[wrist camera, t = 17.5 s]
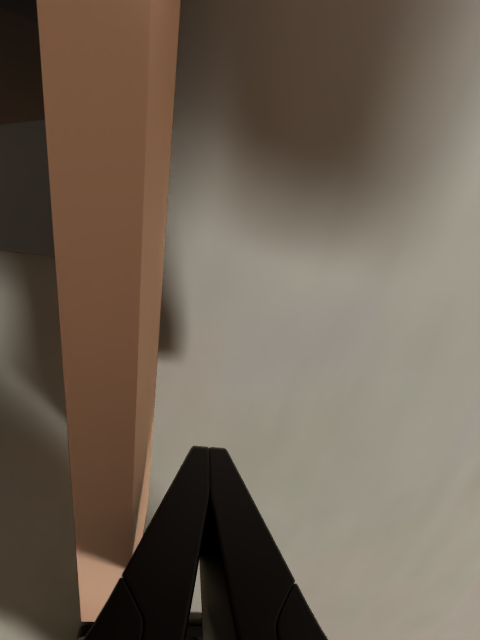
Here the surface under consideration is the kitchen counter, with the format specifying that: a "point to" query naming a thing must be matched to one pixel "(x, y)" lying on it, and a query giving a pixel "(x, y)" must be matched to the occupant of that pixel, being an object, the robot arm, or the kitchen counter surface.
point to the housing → (23, 135)
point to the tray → (108, 256)
